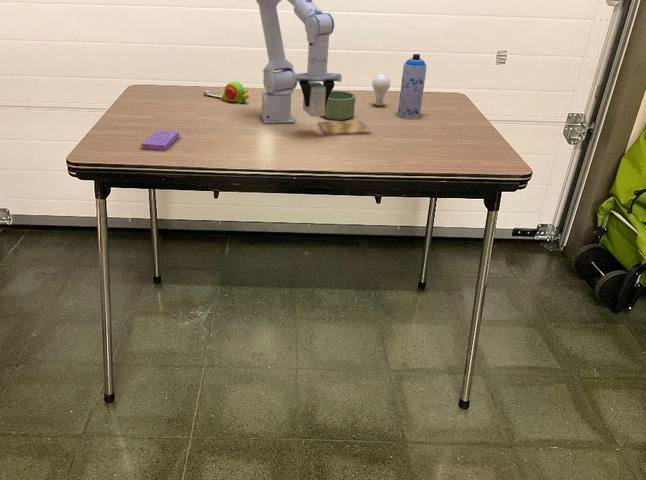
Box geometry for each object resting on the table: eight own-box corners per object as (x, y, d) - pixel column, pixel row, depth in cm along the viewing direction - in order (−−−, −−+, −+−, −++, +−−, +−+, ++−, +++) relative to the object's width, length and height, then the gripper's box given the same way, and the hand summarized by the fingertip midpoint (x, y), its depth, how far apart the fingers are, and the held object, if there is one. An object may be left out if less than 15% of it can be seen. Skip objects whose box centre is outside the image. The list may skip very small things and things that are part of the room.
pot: (323, 121, 200) (325, 100, 196) (316, 111, 209) (317, 90, 206) (357, 120, 201) (359, 99, 198) (349, 110, 211) (350, 90, 207)
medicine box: (324, 116, 182) (326, 86, 178) (310, 116, 181) (312, 87, 177) (316, 109, 189) (318, 80, 184) (302, 109, 188) (304, 80, 183)
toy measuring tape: (243, 105, 212) (242, 86, 209) (199, 96, 221) (199, 77, 218) (253, 101, 217) (253, 82, 214) (210, 92, 226) (210, 74, 223)
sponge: (179, 137, 182) (179, 131, 182) (165, 151, 172) (164, 144, 171) (157, 135, 183) (156, 129, 182) (141, 149, 173) (140, 142, 172)
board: (325, 135, 188) (325, 132, 187) (318, 124, 197) (318, 121, 197) (369, 133, 190) (369, 131, 189) (360, 123, 199) (360, 120, 199)
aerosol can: (413, 111, 212) (421, 51, 202) (424, 117, 206) (433, 56, 196) (393, 112, 210) (400, 52, 200) (403, 119, 204) (411, 57, 194)
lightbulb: (382, 109, 214) (385, 77, 208) (366, 106, 217) (369, 74, 211) (391, 105, 218) (394, 74, 212) (375, 102, 221) (378, 71, 215)
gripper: (295, 62, 171) (293, 110, 178) (345, 61, 173) (341, 109, 180) (291, 56, 177) (289, 103, 184) (339, 56, 179) (336, 102, 186)
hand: (315, 105), depth 183 cm, fingers closed on medicine box, 5 cm apart
